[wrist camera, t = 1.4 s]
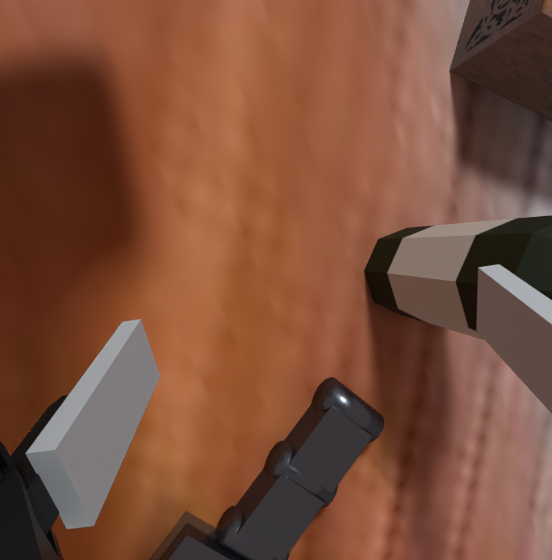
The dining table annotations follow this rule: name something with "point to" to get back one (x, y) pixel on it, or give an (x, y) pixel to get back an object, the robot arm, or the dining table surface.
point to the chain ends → (284, 484)
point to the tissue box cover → (509, 51)
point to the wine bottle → (456, 267)
